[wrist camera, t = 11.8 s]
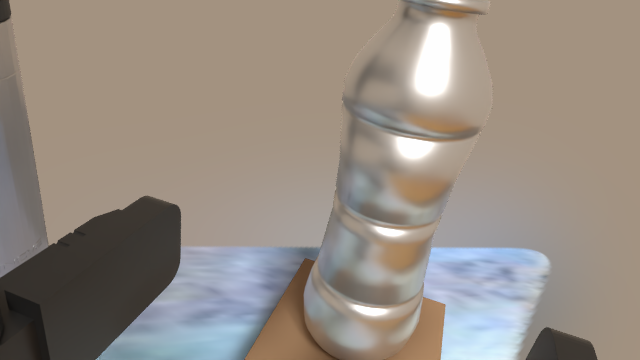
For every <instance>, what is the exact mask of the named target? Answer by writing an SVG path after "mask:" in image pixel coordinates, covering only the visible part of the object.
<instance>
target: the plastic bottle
mask: <svg viewBox="0 0 640 360" xmlns="http://www.w3.org/2000/svg"><path fill="white" fill-rule="evenodd" d="M490 4H491V2H489V0H398V5H397V8H396V10H395V13H394V16H392V18H390V19H389V20H388V21H387V22H386V23H385V24H384V25H383V26H382V27H381V28H380V29H379V30H378V31H377V32H376V33H375V34H374V35H373V36H372V37H371V38H370V39H369V41H368V42H367V43H366V44H365V45H364V47H363V48H362V49H361V50H360V51H359V53H358V54H357V55H356V56H355V57H354V59H353V62H352V64H351V66H350V68H349V70H348V72H347V74H346V76H345V80H344V89H343V97H342V100H343V104H342V118H341V140H340V160H339V167H338V174H337V181H336V190H335V196H334V202H333V208H332V212H331V215H330V218H329V222H328V225H327V229H326V232H325V235H324V239H323V242H322V245H321V249H320V252H319V255H318V257H317V258H316V260H315V263H314V265H313V267H312V269H311V272H310V274H309V277H308V280H307V283H306V286H305V290H304V317H305V323H306V326H307V329H308V330H309V332H310V334H311V335H312V337H313V338H314V340H315V341H316V342H317V343H318V344H319V346H320V347H321V348H322V349H323V350H324V351H326V352H327V353H329V354H330V355H331V356H333V357H335V358H337V359H339V360H384V359H386V358H389V357H391V356H393V355H395V354H396V353H398V352H399V351H400V350H401V349H402V348H403V347H404V346H405V344H406V343H407V341H408V340H409V338H410V336H411V335H412V333H413V332H414V330H415V328H416V326H417V324H418V322H419V317H420V311H421V306H422V300H423V290H424V278H425V273H426V269H427V265H428V260H429V256H430V252H431V247H432V243H433V239H434V234H435V232H436V229H437V226H438V224H439V222H440V219H441V214H442V213H443V211H444V209H445V207H446V204H447V202H448V199H449V197H450V194H451V192H452V189H453V187H454V184H455V182H456V180H457V178H458V176H459V174H460V172H461V170H462V168H463V166H464V164H465V162H466V161H467V159H468V157H469V155H470V153H471V151H472V149H473V147H474V145H475V143H476V141H477V139H478V137H479V135H480V132H481V131H482V130H483V128H484V125H485V123H486V121H487V118H488V116H489V114H490V112H491V109H492V96H493V85H492V80H491V76H490V72H489V68H488V64H487V60H486V57H485V54H484V51H483V48H482V46H481V43H480V40H479V37H478V35H477V32H476V28H477V20H478V17H479V15H480V14H481V15H482V14H483V15H485V14H488V11H489V8H490Z"/></svg>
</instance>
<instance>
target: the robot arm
mask: <svg viewBox="0 0 640 360" xmlns="http://www.w3.org/2000/svg"><path fill="white" fill-rule="evenodd" d="M180 250H181V212H180V209H179V207H178V206H177V205H175V204H172V203H169V202H166V201H163V200H159V199H156V198H153V197H150V196H144V197H142V198H140V199H138V200H137V201H135V202H134V203H132V204H131V205H129V206H128V207H126V208H125V209H123V210H119V209H118V210H115V211H112V212H109V213H106V214H103V215H100V216H97V217H94V218H92V219H91V220H89V221H88V222H86V223H85V224H83V225H81V226H80V227H78V228H77V229H75V230H74V233H69V234H68V235H66V236H64V237H63V238H61V239H60V240H58V242H57V244H54V243H53V244H52V245H50V246H48V240H47V233H46V227H45V221H44V215H43V209H42V201H41V195H40V189H39V182H38V177H37V170H36V164H35V159H34V152H33V146H32V140H31V133H30V127H29V121H28V115H27V109H26V103H25V96H24V90H23V84H22V77H21V71H20V65H19V60H18V54H17V48H16V42H15V36H14V29H13V23H12V18H11V10H10V4H9V0H0V360H96V359H97V358H98V357H99V356H100V355H101V353H102V352H103V351H104V350H105V349H106V348H107V347H108V346H109V345H110V344H111V343H112V342H113V341H114V340H115V339H116V338H117V337H118V336H119V335H120V334H121V333H122V332H123V331H124V330H125V329H126V328H127V327H128V326H129V325H130V324H131V323H132V322H133V321H134V320H135V319H136V318H137V317H138V316H139V315H140V314H141V313H142V312H143V311H144V310H145V309H146V308H147V307H148V306H149V305H150V304H151V303H152V302H153V301H154V300H155V298H156V297H157V296H158V295H159V294H160V293H161V292H162V291H163V290H164V289H165V288H166V287H167V286H168V285H169V284H170V283H171V282H172V280H173V279H174V277H175V275H176V273H177V271H178V268H179V264H180ZM526 360H597V357H596V353H595V350H594V347H593V345H592V344H591V342H589V341H588V340H585V339H581V338H579V337H575V336H572V335H569V334H566V333H563V332H560V331H557V330H554V329H551V328H544V329H543V330H542V331H541V333H540V334H539V336H538V338H537V339H536V341H535V343H534V345H533V347H532V349H531V351H530V352H529V354H528V356H527V358H526Z"/></svg>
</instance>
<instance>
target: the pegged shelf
mask: <svg viewBox="0 0 640 360" xmlns="http://www.w3.org/2000/svg"><path fill="white" fill-rule="evenodd" d="M314 263H315V261H312V260H309V259H306V258H305V259H304V261H303V263H302V264H301V266H300V268H299V269H298V271H297V273H296V274H295V276H294V278H293V279H292V281H291V283H290V284H289V286H288V288H287V289H286V291H285V293H284V294H283V296H282V298H281V299H280V301H279V303H278V304H277V306H276V308H275V309H274V311H273V313H272V314H271V316H270V318H269V319H268V321H267V323H266V324H265V326H264V328H263V329H262V331H261V333H260V334H259V336H258V338H257V339H256V341H255V343H254V344H253V346H252V348H251V349H250V351H249V353H248V354H247V356H246V358H245V359H244V360H339V359H337V358H335V357H333V356H331V355H330V354H329V353H327V352H326V351H324V350H323V349H322V348H321V347H320V346H319V344H318V343H317V342H316V341H315V340H314V338H313V337H312V335H311V334H310V332H309V330H308V329H307V326H306V323H305V317H304V290H305V286H306V283H307V280H308V277H309V274H310V272H311V269H312V267H313V265H314ZM444 315H445V304H443V303H440V302H437V301H434V300H430V299H427V298H424V297H423V300H422V306H421V311H420V317H419V322H418V324H417V326H416V328H415V330H414V332H413V333H412V335H411V336H410V338H409V340H408V341H407V343H406V344H405V346H404V347H403V348H402V349H401V350H400V351H399V352H398V353H396V354H395V355H393V356H391V357H389V358H386V359H384V360H440V358H441V347H442V337H443V326H444Z"/></svg>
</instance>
